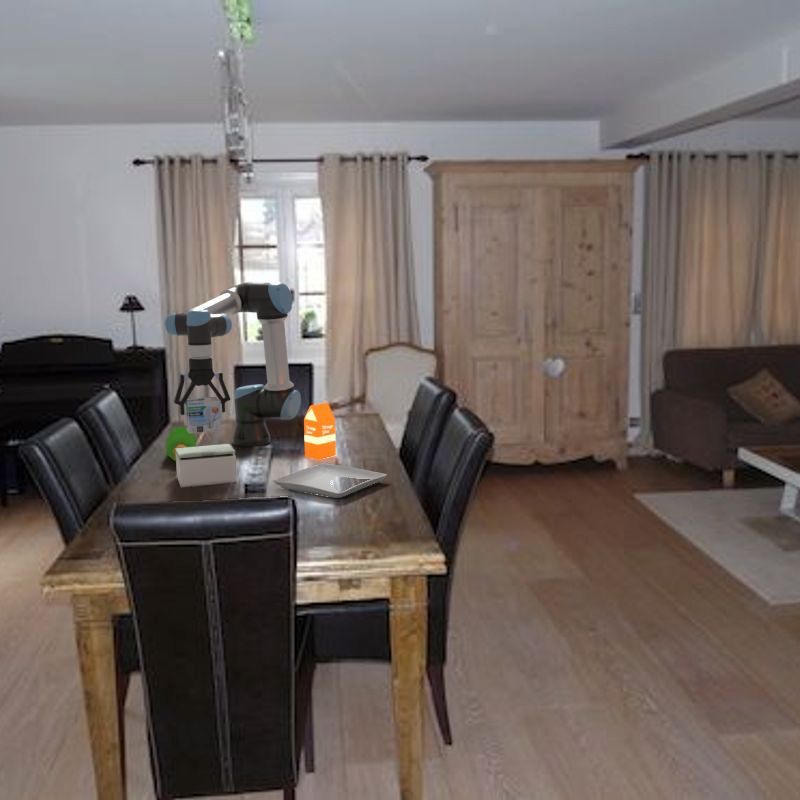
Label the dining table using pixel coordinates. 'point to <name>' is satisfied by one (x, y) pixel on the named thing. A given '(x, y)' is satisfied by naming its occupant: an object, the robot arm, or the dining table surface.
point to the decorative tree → (179, 441)
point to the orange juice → (319, 432)
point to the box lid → (204, 450)
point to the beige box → (206, 470)
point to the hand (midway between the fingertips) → (203, 423)
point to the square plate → (327, 479)
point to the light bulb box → (203, 415)
